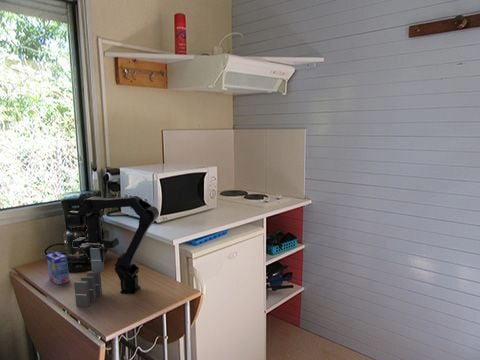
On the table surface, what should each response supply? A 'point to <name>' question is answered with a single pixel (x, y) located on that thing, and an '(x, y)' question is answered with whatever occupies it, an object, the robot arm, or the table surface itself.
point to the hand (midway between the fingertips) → (97, 261)
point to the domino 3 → (96, 260)
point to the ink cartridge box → (58, 267)
